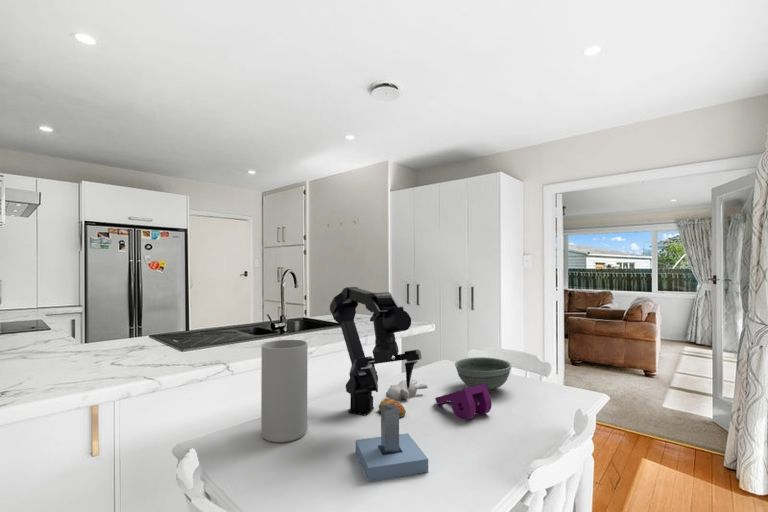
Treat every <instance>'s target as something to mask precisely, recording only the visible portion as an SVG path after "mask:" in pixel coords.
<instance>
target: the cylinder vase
mask: <svg viewBox="0 0 768 512" xmlns="http://www.w3.org/2000/svg"><path fill="white" fill-rule="evenodd" d="M260 367H261V383H260V384H261V387H260V388H261V392H260V393H261V395H260V396H261V398H260V399H261V400H260V401H261V402H260V404H261V405H260V406H261V414H260V417H261V418H260V423H261V424H260V425H261V426H260V427H261V429H260V432H261V433H260V434H261V436H262V438H263V439H264V440H265V441H267V442H270V443H271V442H272V443H278V444H280V443H288V442H293V441H296V440H298V439H300V438H302V437H304V436H305V435H306V433H307V432H308V342H307V341H305V340H302V339H279V340H278V339H277V340H272V341H271V340H270V341H267V342H264V343H262V344H261V366H260Z"/></svg>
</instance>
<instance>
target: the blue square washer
mask: <svg viewBox="0 0 768 512" xmlns="http://www.w3.org/2000/svg"><path fill="white" fill-rule="evenodd" d="M355 454H356V456H357V458H358V461H359V464H360V465H361V469H362V470H363V473H364V475H365V477H366V480H367V482H370V483H371V482H376V481H381V480H388V479H394V478H401V477H407V476H406V475H408V476H413V475H412V474H414V475H418V474H417V473H420V474H424V473H423V472H427V473H429V458H428V457H427V456H426V454H425V452H424V451H422V449H421V448H420V447H419V446H418V444H417V443H416V441H415V440H414V439H413V438H412V436H411V435H410V434H409V433H408V432H407V433H399V453H395V454H388V455H382V453H381V436H377V437H376V436H375V437H370V438H361V439H355ZM400 476H401V477H400Z"/></svg>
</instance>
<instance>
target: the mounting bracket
mask: <svg viewBox="0 0 768 512" xmlns="http://www.w3.org/2000/svg"><path fill="white" fill-rule="evenodd" d="M435 402H436V405H440V404H444V403H447V402H450V403H451V407H452V410H453V413H454V414H455V416H456V417H457V418H459V419H460V420H463V421H466V420H469V419H472V418H473V417H474V416H475V415H479V416H482V415H486V414H489V412H490V411H491V410H492V403H493V402H492V399H491V395H490V393H489V392H488V389H487V386H486V384H482V385H478V386H474V387H470V386H469V387H468V388H463V389H460V390H457V391H454V392H450V393H446V394H444V395H440V396H437V397H435Z"/></svg>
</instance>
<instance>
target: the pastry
mask: <svg viewBox="0 0 768 512" xmlns="http://www.w3.org/2000/svg"><path fill="white" fill-rule="evenodd" d="M379 403H380V404H379V405H378V410H379V412H380V413H381V405H388V404H395V405H396V406H397V407H398V408H399V418H401V417H405V415H406V413H407V410H406V409H405V406H404V405H403V404H402V403H400V401H396V400H392V399H390V398H388V397H386V398H384V399H383V400H382V401H380V402H379Z"/></svg>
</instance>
